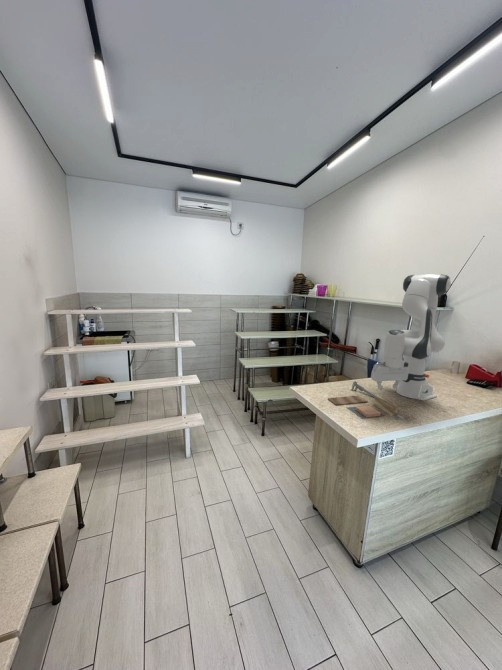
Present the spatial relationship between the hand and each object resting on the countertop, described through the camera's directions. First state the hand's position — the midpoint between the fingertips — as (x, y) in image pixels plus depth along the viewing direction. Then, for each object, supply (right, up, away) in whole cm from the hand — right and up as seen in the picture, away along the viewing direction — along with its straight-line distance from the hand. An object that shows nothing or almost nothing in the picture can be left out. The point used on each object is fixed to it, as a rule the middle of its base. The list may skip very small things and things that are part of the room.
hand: (387, 388), depth 130 cm
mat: (-12, -12, -1) cm, 17 cm away
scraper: (0, -12, 0) cm, 12 cm away
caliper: (-1, -9, +22) cm, 23 cm away
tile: (-12, -10, +1) cm, 16 cm away
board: (-16, -10, +11) cm, 22 cm away
